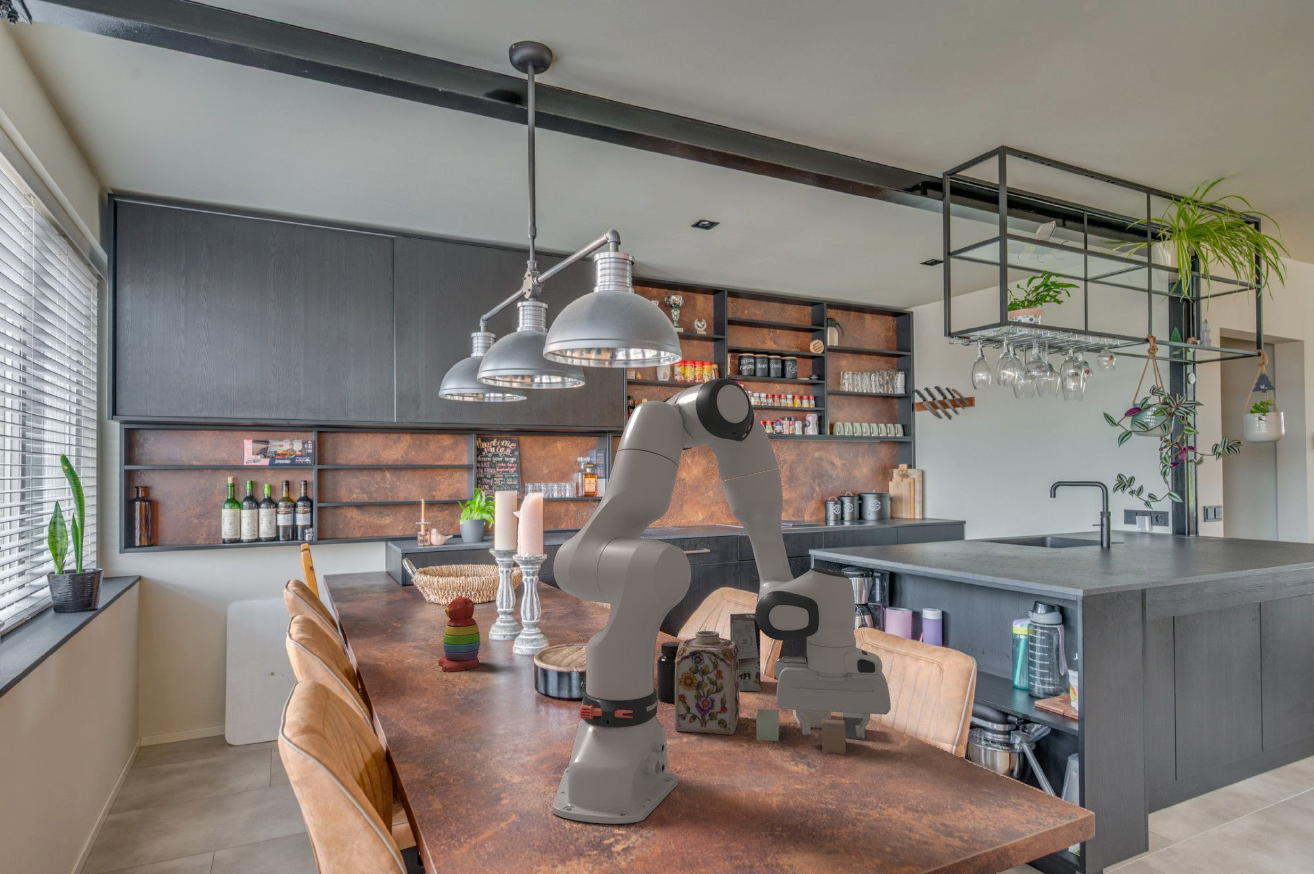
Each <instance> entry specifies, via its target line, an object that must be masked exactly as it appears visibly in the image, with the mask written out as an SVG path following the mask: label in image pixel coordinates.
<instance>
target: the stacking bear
mask: <svg viewBox="0 0 1314 874" xmlns="http://www.w3.org/2000/svg"><path fill="white" fill-rule="evenodd" d="M444 612H445V614H446V617H447V618H448V619H449V620H448V621H447V622H446V626H445V630H444V634H443V638H442V639H443V640H442V642H443V644H442V646H443V650H444V655H445V656H441V658H439V659H438V661H437V662H438V664H437V665H438V666H440V665H441V666H440V667H441V670H442V671H443V672H444V671H446V672H445V673H451V672H450V671H455V672H461V670H462V671H466V670H465V669H467V670H470V668H471V669H474V668H476V666H477V667H478V666H480V660H479V657H478V654H479V649H480V647H481V635H480V634H481V633H480V631H479V630H480V629H479V625H478V623H477V621H476V620H475V619H474V618H473V616H474V612H475V603H474V602H473V600H472V599H470V598H469V597H466V596H465V597H463V596H460V595H458V597H455V598H454V599H452V600H451V602H450V603H449V605H448V606H447V607H446V608H445V611H444ZM473 667H474V668H473Z"/></svg>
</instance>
